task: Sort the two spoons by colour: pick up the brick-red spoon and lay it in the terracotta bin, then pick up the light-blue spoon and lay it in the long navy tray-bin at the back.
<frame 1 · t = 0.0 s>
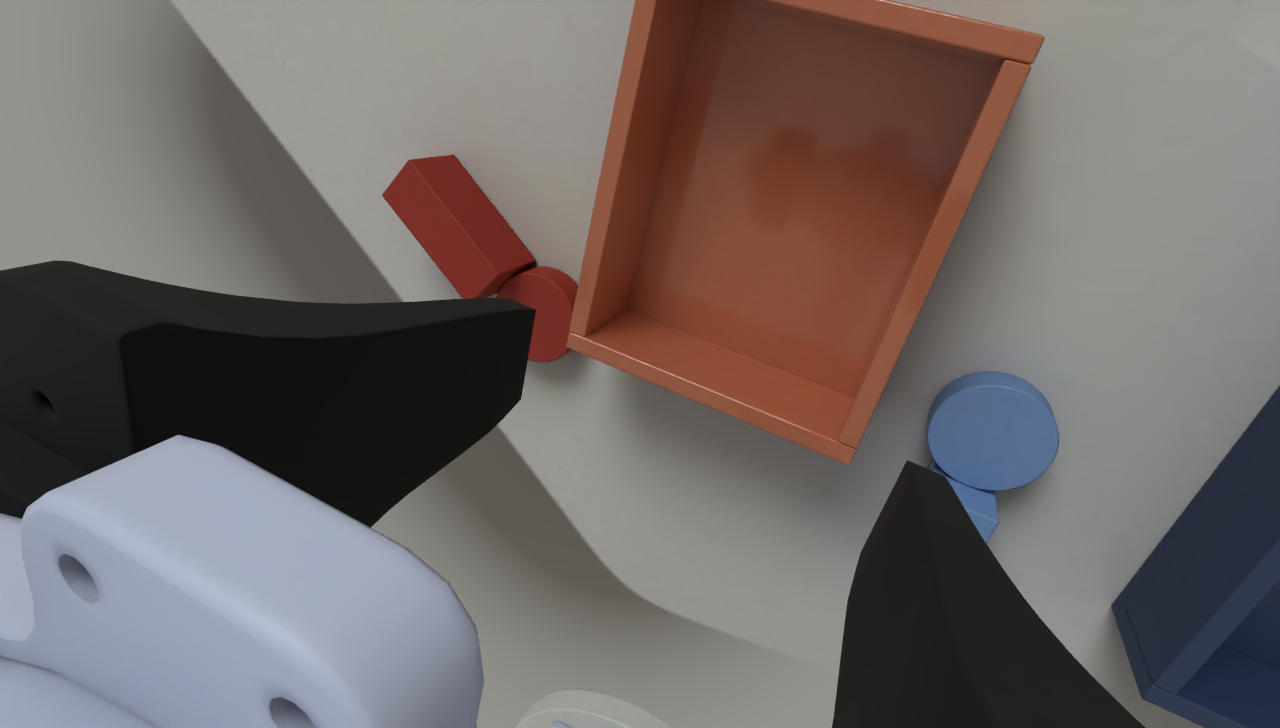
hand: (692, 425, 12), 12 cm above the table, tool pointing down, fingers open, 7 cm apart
blue spoon: (931, 526, 24), on the table
terracotta bin: (784, 204, 22), on the table
red spoon: (481, 223, 27), on the table
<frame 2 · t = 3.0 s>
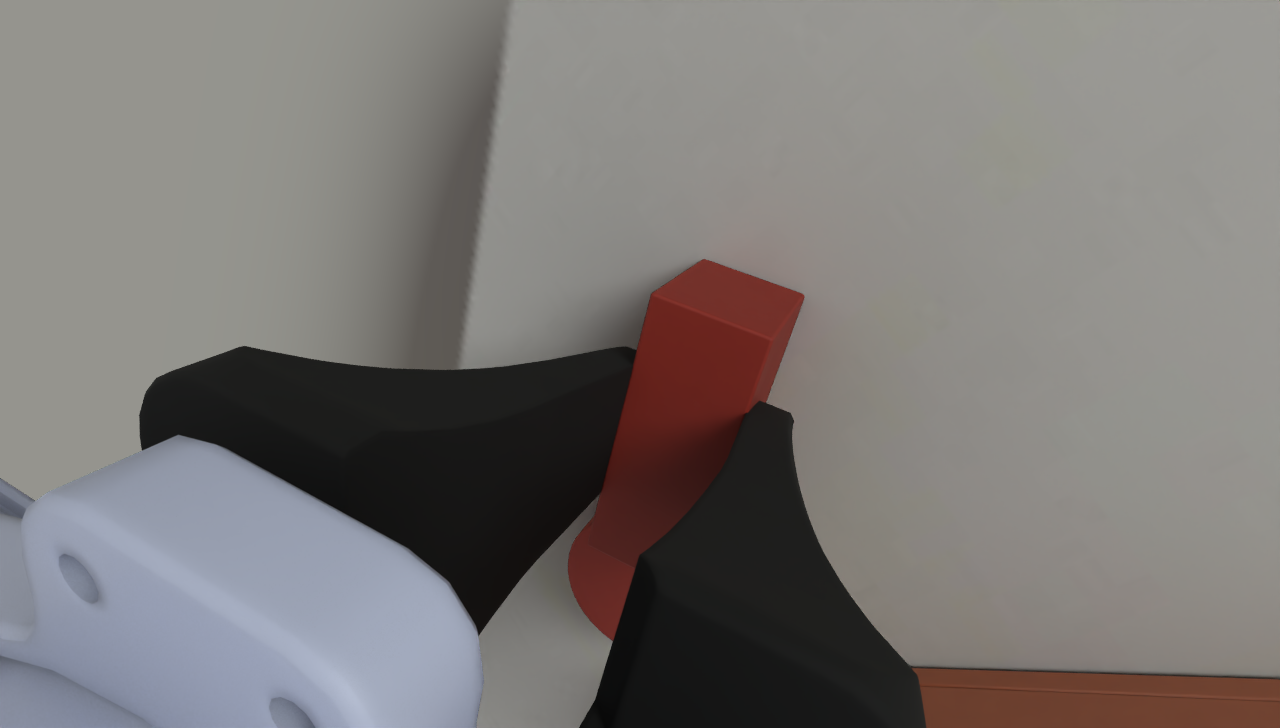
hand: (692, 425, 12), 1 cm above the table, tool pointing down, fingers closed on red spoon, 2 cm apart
red spoon: (714, 396, 13), on the table, touching gripper
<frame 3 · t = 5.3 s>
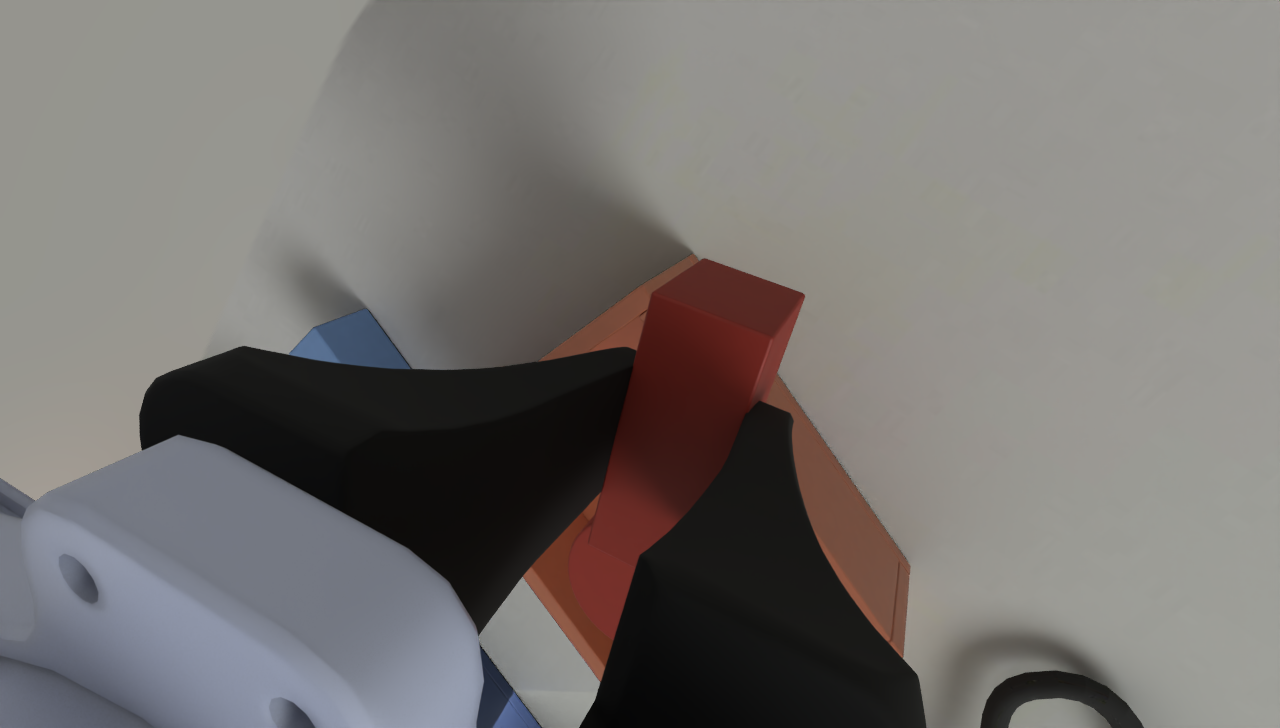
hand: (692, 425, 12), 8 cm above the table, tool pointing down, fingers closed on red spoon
blue spoon: (393, 373, 27), on the table
terracotta bin: (684, 473, 23), on the table
navy bin: (422, 685, 33), on the table
red spoon: (714, 395, 13), point 7 cm above the table, touching gripper
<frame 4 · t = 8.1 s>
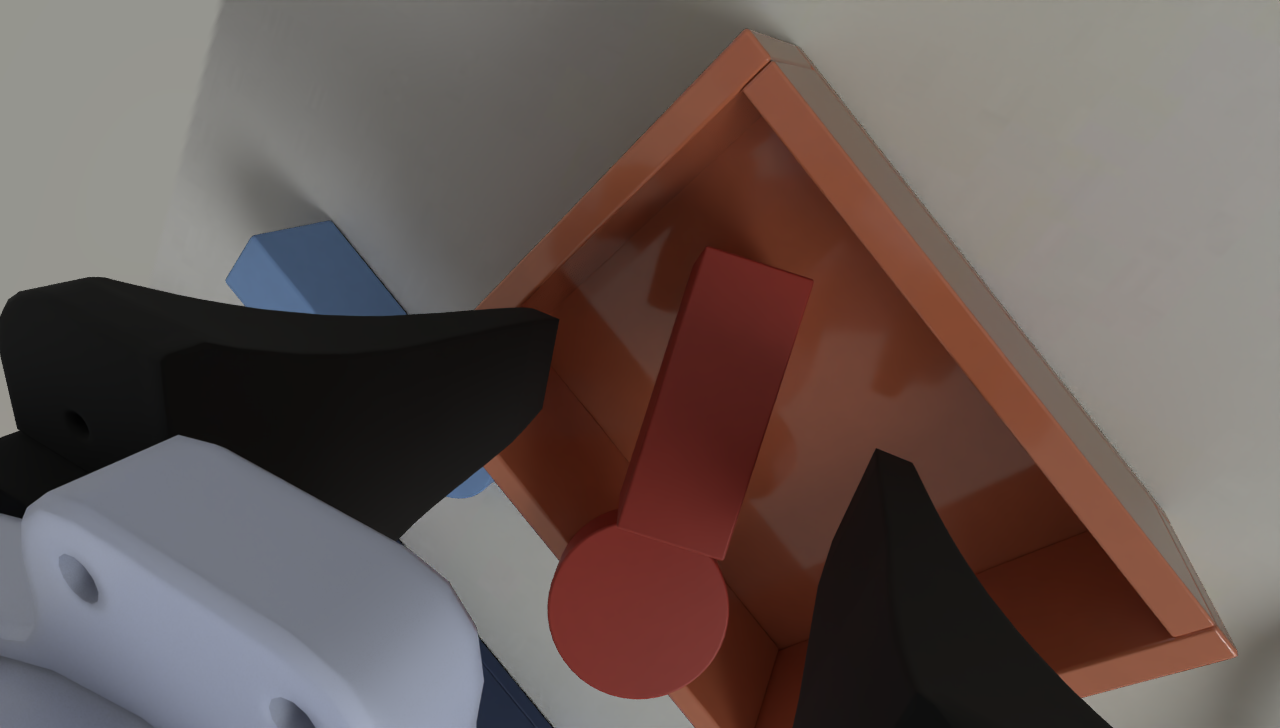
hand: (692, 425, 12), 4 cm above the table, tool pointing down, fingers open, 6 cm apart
blue spoon: (372, 309, 20), on the table
terracotta bin: (788, 404, 16), on the table
red spoon: (700, 393, 14), point 2 cm above the table, tilted 30°, touching terracotta bin
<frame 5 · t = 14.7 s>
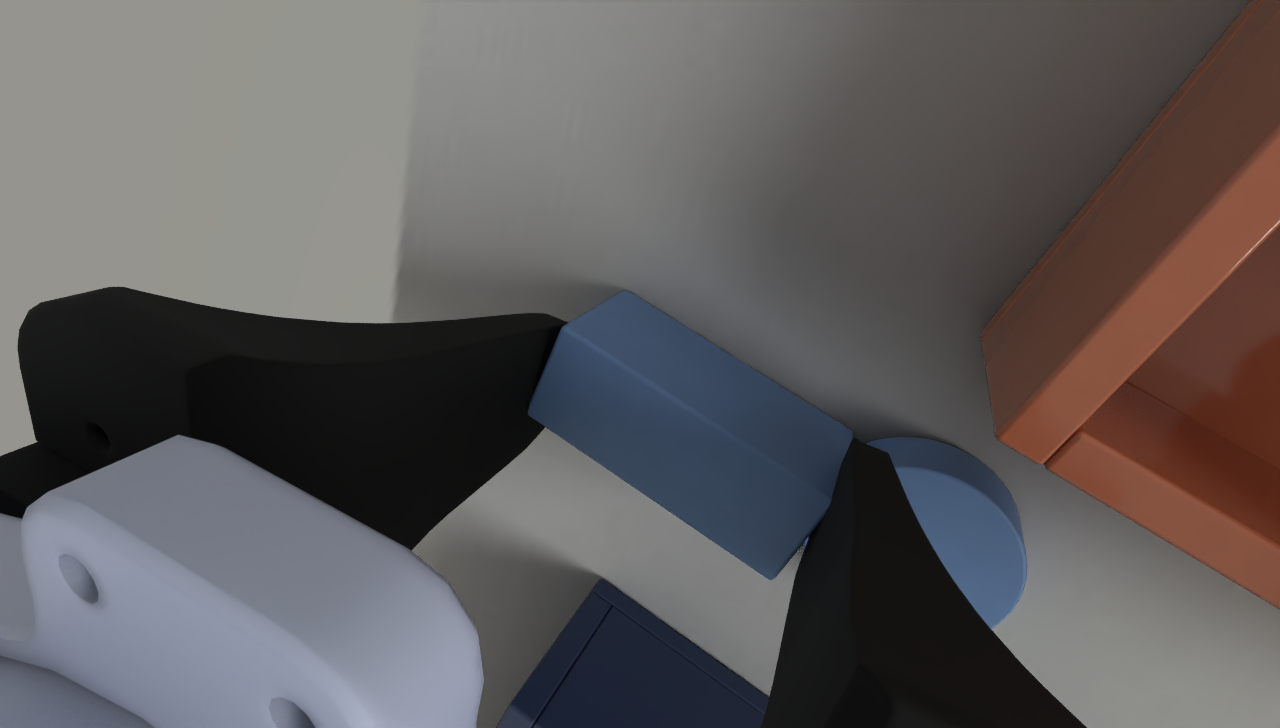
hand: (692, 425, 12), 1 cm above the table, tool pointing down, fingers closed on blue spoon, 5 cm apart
blue spoon: (713, 395, 13), on the table, touching gripper
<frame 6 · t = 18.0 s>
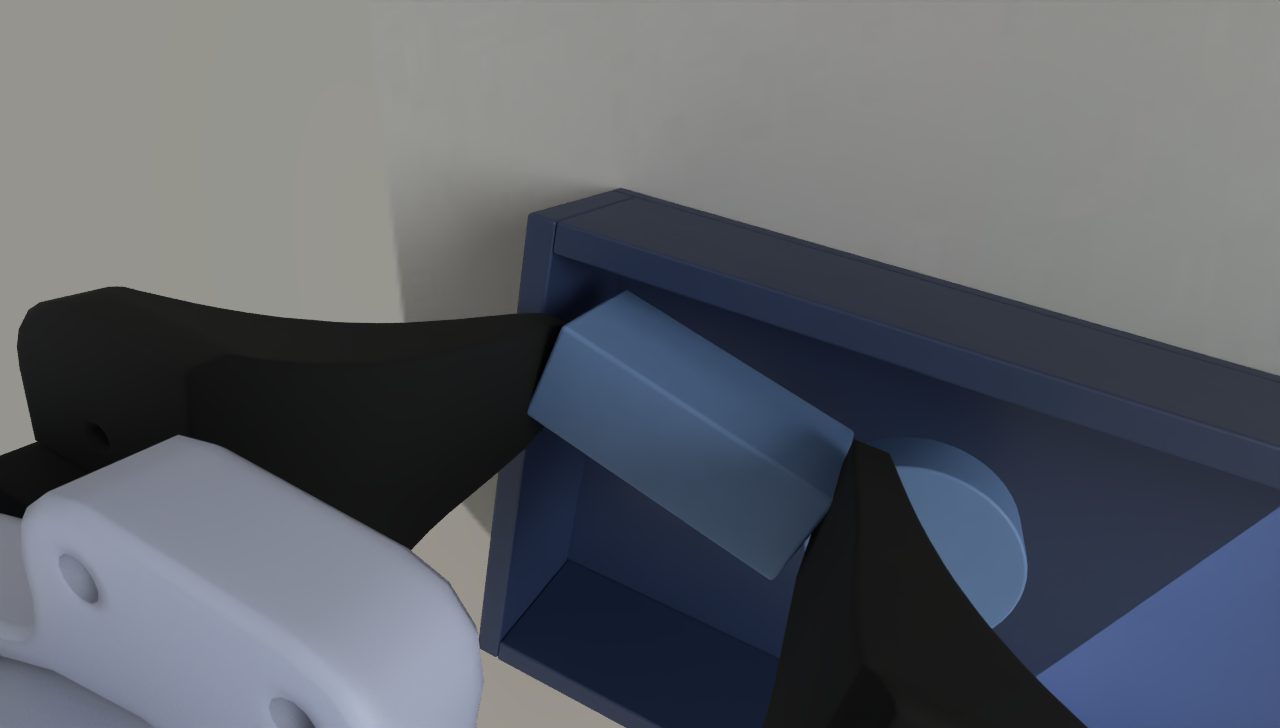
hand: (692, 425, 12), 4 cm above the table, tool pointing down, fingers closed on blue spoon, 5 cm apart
blue spoon: (713, 395, 13), point 3 cm above the table, touching gripper
navy bin: (1101, 599, 14), on the table
when the fingers open (4 cm above the table, at t = 18.8 s): blue spoon drops 1 cm, point 2 cm above the table.
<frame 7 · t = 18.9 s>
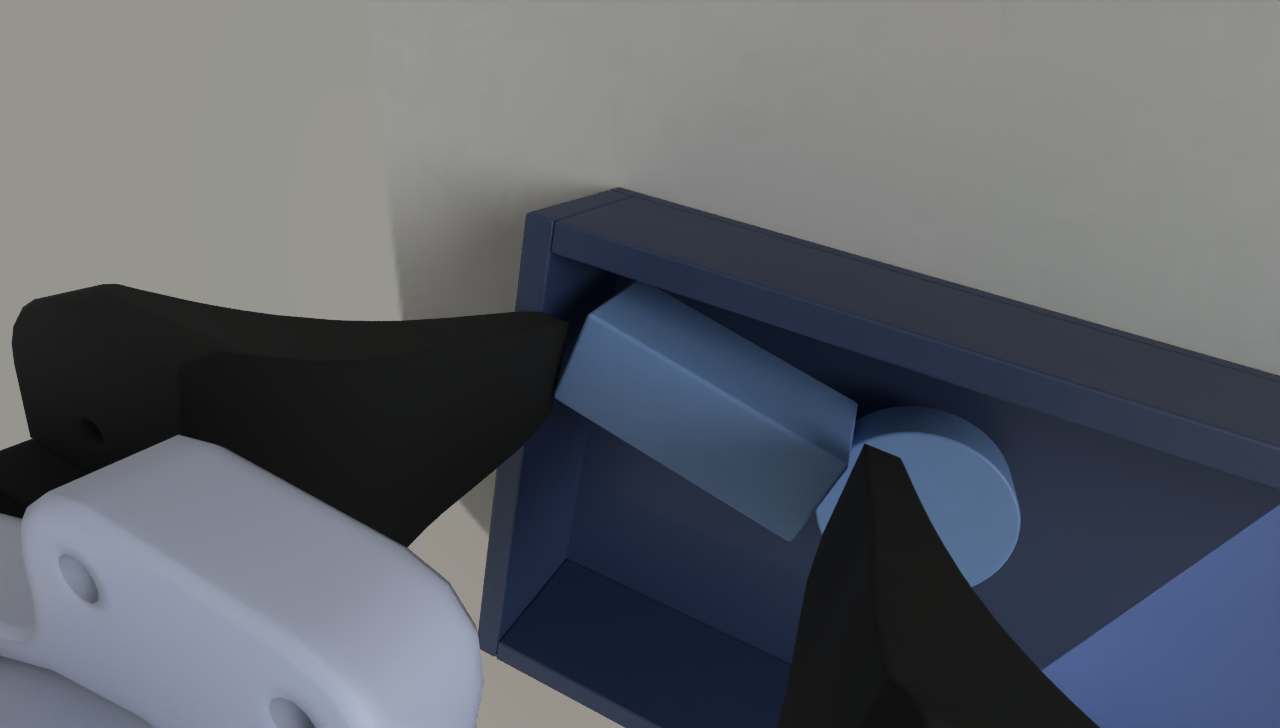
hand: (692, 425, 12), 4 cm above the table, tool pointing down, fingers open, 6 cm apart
blue spoon: (724, 375, 14), point 2 cm above the table
navy bin: (1099, 598, 14), on the table
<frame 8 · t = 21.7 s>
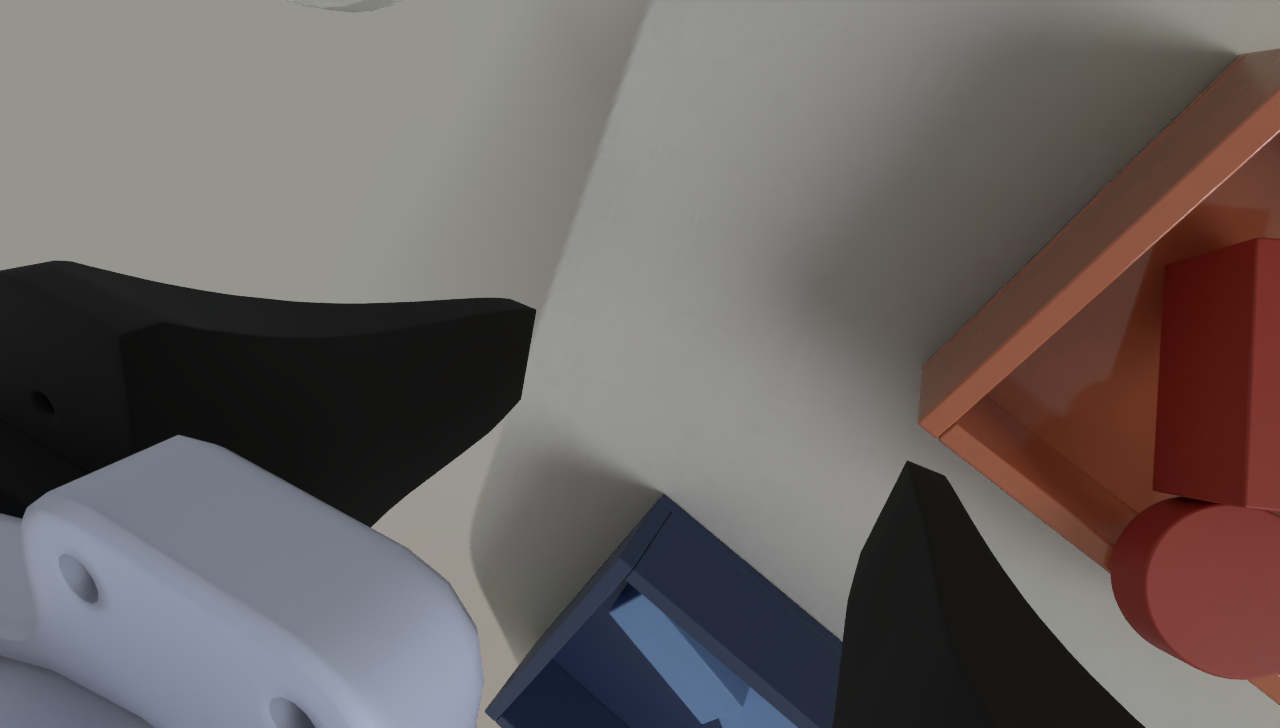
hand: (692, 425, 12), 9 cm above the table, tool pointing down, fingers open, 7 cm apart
blue spoon: (697, 610, 25), resting on navy bin
terracotta bin: (1258, 377, 16), on the table
red spoon: (1203, 380, 15), point 2 cm above the table, tilted 30°, touching terracotta bin
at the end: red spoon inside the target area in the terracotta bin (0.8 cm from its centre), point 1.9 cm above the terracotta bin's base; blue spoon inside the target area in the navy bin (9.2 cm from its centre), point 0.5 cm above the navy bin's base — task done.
